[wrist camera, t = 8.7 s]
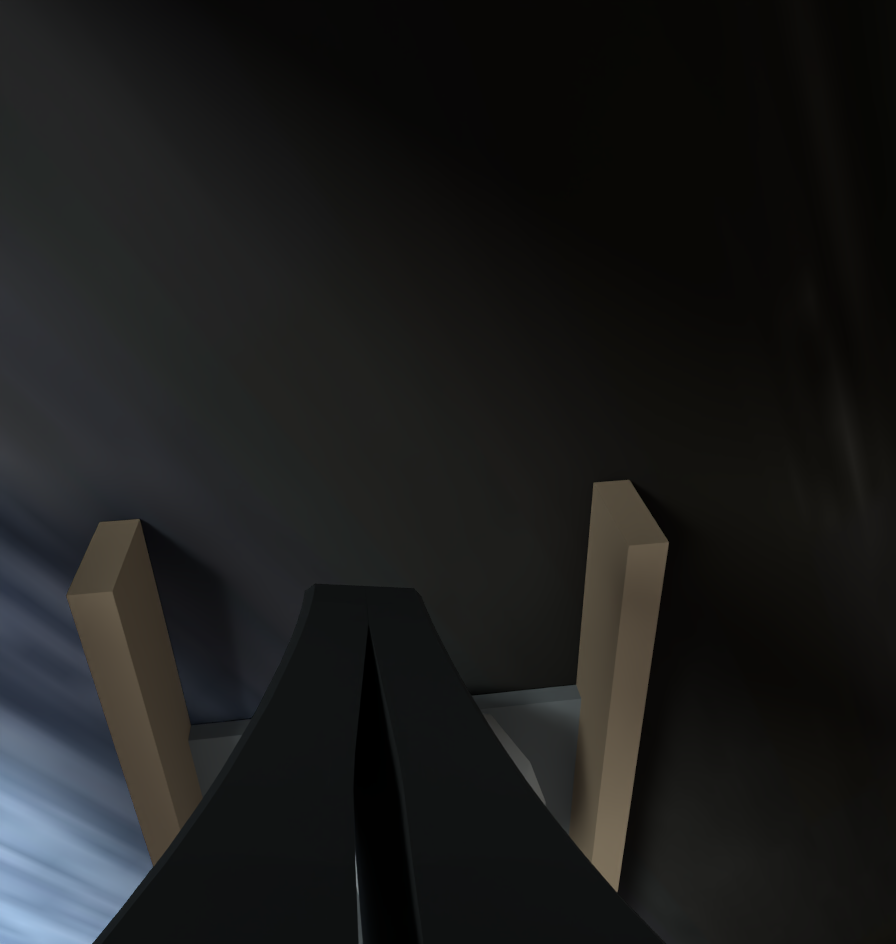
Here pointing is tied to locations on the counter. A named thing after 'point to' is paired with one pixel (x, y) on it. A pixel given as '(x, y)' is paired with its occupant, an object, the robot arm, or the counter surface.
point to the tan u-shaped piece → (518, 712)
